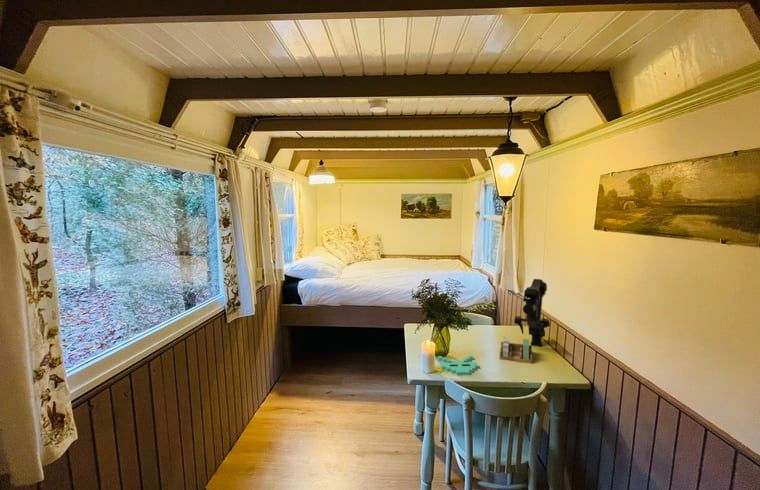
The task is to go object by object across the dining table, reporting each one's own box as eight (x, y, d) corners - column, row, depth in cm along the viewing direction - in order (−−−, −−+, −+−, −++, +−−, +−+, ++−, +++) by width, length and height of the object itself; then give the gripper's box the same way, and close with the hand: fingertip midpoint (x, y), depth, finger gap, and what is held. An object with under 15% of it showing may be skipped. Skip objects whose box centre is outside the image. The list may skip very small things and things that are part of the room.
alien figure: (437, 359, 195) (444, 376, 176) (437, 356, 195) (444, 372, 175) (472, 359, 195) (482, 375, 175) (472, 355, 195) (482, 371, 175)
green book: (523, 351, 198) (523, 338, 198) (528, 352, 197) (528, 339, 196) (522, 358, 189) (523, 345, 188) (528, 359, 188) (528, 345, 187)
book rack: (501, 349, 206) (501, 337, 205) (531, 353, 199) (531, 340, 198) (499, 359, 193) (499, 345, 192) (531, 363, 186) (532, 349, 185)
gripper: (514, 312, 192) (513, 338, 194) (550, 315, 185) (549, 342, 187) (514, 306, 203) (514, 331, 204) (549, 309, 195) (548, 335, 197)
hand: (531, 335), depth 198 cm, fingers open, 9 cm apart
